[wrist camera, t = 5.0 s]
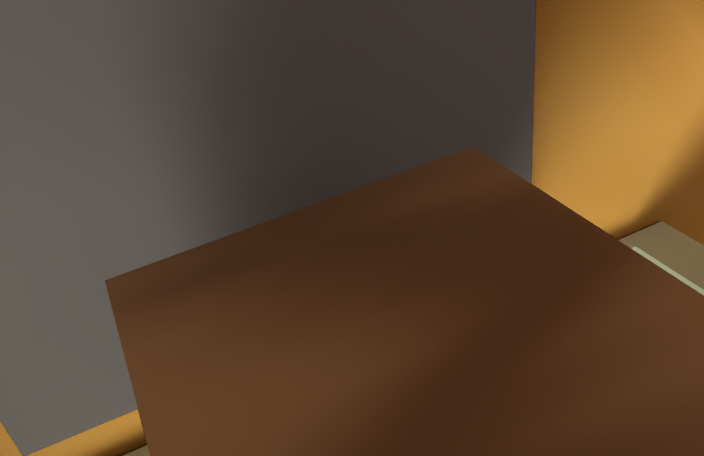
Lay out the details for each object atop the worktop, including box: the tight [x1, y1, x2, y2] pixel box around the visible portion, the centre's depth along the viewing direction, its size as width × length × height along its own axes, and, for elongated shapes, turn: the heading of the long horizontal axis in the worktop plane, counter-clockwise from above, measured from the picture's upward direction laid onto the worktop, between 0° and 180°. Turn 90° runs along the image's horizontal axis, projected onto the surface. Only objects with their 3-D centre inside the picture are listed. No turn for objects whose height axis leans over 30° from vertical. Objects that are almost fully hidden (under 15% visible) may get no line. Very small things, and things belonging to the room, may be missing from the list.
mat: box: [0, 0, 536, 456], centre depth 10 cm, size 10×9×1 cm
